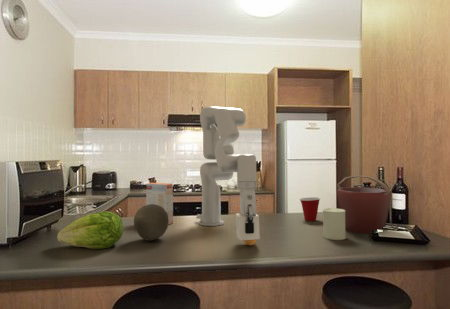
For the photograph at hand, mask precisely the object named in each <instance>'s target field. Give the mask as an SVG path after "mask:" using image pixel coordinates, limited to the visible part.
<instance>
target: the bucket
mask: <svg viewBox="0 0 450 309" xmlns="http://www.w3.org/2000/svg"><path fill="white" fill-rule="evenodd" d="M354 178H364V179H369V180H370V181H373V182H375V183H377V184H378V185H380V187H382V188H377V187H361V186H360V187H359V186H358V187H341V186H340V185H343V184H346V182H348V181H349V179H354ZM336 187H337V190H336V192H337V193H336V194H337V196H336V198H337V201H338V202H337V203H338V206H339V209H343V210H345V231H348V232H352V233H354V234H361V235H363V234H364V235H371V234H370V232H371V231H372V230H377V229H380V228H383V227H385V228H386V224H387V219H388V216H389V211H390V206H391V205H390V204H391V201H392V191H391V189H390V188H389V187H388V185H387V184H386V183H384V182H382V181H381V179H378V178H376V177H374V176H373V177H372V176H369V175H353V176H346V177H344V178H343V179H342V180H341V181H339V182H338V183H337V186H336Z"/></svg>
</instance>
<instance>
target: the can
mask: <svg viewBox="0 0 450 309" xmlns="http://www.w3.org/2000/svg"><path fill="white" fill-rule="evenodd" d="M322 218H323V219H322V220H323V224H322V225H323V228H322V230H323V232H322V237H323V238H325V239H327V240H335V241H343V240H345V239H346V238H347V236H346V230H345V210H343V209H340V208H335V207H330V208H329V207H327V208H323V209H322Z"/></svg>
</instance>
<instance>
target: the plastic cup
mask: <svg viewBox="0 0 450 309" xmlns="http://www.w3.org/2000/svg"><path fill="white" fill-rule="evenodd" d="M320 200H321V198H320V197H302V198H299V201H300V204H301V206H302V207H301V208H302V213H303V217H304V221H307V222H315V221H317V217H318V212H319V204H320Z"/></svg>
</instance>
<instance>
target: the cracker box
mask: <svg viewBox="0 0 450 309" xmlns="http://www.w3.org/2000/svg"><path fill="white" fill-rule="evenodd" d="M145 185H146V187H145V190H146V191H145V192H146V194H145V198H146V200H145V201H146V204H145V206H146V205H150V204H156V205H159V206H161V207H163V208H164V209H165V211H166V212H167V214H168V219H169V223H168V226H169V225H172V224H173V223H174V203H173V202H174V200H173V199H174V198H173V197H174V195H173V194H174V189H173V188H174V187H173V186H174V184H173V183H166V182H165V183H163V182H147V183H145Z"/></svg>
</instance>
